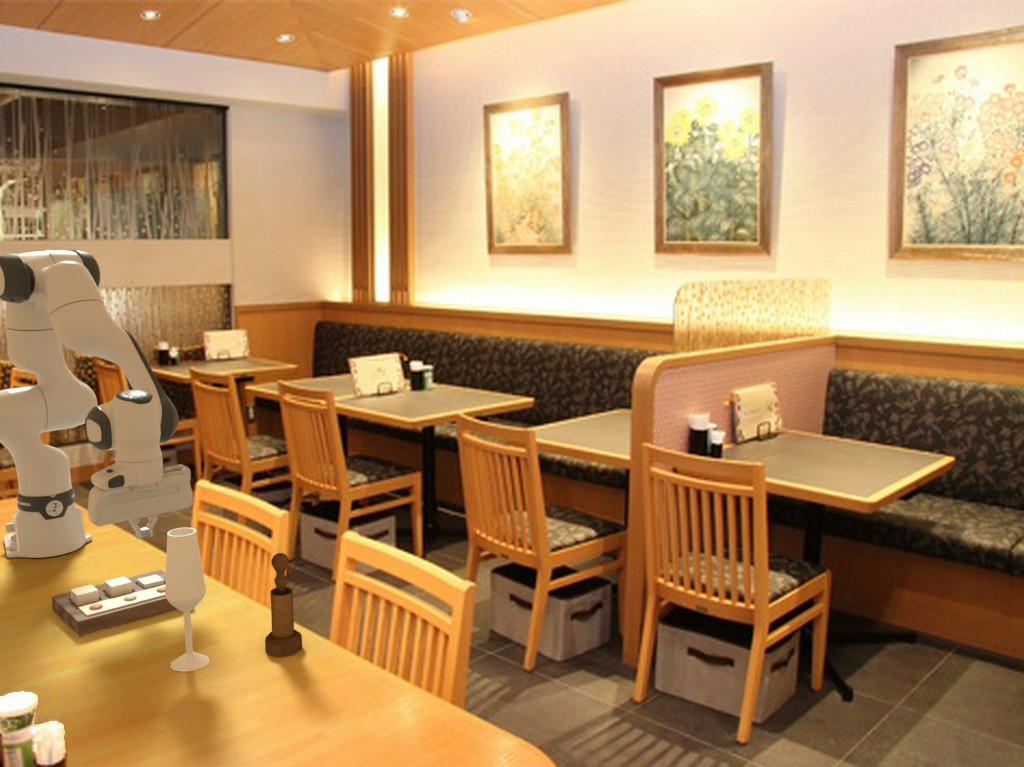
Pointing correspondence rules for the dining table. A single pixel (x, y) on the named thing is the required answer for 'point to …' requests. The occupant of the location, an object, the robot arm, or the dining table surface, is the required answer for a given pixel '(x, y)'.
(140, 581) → the button
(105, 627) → the button board
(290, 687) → the dining table surface
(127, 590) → the button middle
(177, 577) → the champagne flute
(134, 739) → the dining table surface
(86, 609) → the pattern card
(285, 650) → the mortar and pestle
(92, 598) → the button
